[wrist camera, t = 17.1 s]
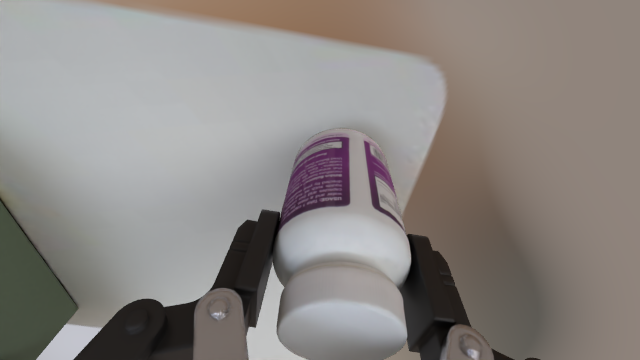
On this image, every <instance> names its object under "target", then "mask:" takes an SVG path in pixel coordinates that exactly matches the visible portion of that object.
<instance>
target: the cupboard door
mask: <svg viewBox="0 0 640 360" xmlns="http://www.w3.org/2000/svg"><path fill="white" fill-rule="evenodd" d="M77 310H78V308H77V306H76V305H75V303H74V302H73V301H72V299H71V298H70V296H69V295H68V294H67V292H66V291H65V290H64V288H63V287H62V285H61V284H60V283H59V281H58V280H57V279H56V277H55V276H54V274H53V273H52V272H51V270H50V269H49V267H48V266H47V265H46V263H45V262H44V261H43V259H42V258H41V256H40V255H39V254H38V252H37V251H36V250H35V248H34V247H33V245H32V244H31V243H30V241H29V240H28V238H27V237H26V236H25V234H24V233H23V232H22V230H21V229H20V227H19V226H18V225H17V223H16V222H15V221H14V219H13V218H12V216H11V215H10V214H9V212H8V211H7V209H6V208H5V207H4V205H3V204H2V203H1V201H0V360H36V359H37V357H38V356H39V355H40V354H41V353H42V352H43V350H44V349H45V348H46V347H47V346H48V344H49V343H50V342H51V341H52V340H53V338H54V337H55V336H56V335H57V333H58V332H59V331H60V330H61V329H62V328H63V326H64V325H65V324H66V323H67V322H68V320H69V319H70V318H71V317H72V316H73V314H74V313H75V312H76V311H77Z"/></svg>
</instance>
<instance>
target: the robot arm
mask: <svg viewBox="0 0 640 360" xmlns="http://www.w3.org/2000/svg"><path fill="white" fill-rule="evenodd" d="M279 220H280V212H275V211H269V210H262V211H261V214H260V216H259V219H258V222H257V221H251V220H246V221H245V222H244V223H243V224H242V225H241V226H240V227H239V228H238V230H237V232H236V234H235V236H234V239H233V241H232V243H231V246H230V249H229V250H228V253H227V255H226V257H225V260H224V262H223V264H222V266H221V269H220V271H219V273H218V276H217V278H216V280H215V283H214V285H213V286H212V288H211V289H210V290H209V291H208V293H206V294H205V295H204V296H203V297H201V298H200V299H198V300H196V301H193V302H190V303H186V304H180V305H174V306H168V307H163V305H162V304H161V303H160V302H158V301H156V300H154V299H141V300H137V301H134V302H132V303H129V304H128V305H126V306H124V307H123V308H122V309H121V310H119V311H118V312H117V313H116V314H115V315H114V316H113V318H112V319H111V320H110V321H109V322H108V323H107V324H106V325H105V326H104V327H103V328H102V329H101V331H100V332H99V333H98V334H97V335H96V336H95V337H94V338H93V339H92V340H91V341H90V342H89V343H88V345H87V346H86V347H85V348H84V349H83V350H82V351H81V352H80V353H79V354H78V356H76V357H75V359H74V360H249V359H248V350H247V341H246V335H247V332H248V328H249V327H255V328H256V324H257V320H258V317H259V313H260V309H261V305H262V301H263V297H264V293H265V289H266V285H267V281H268V277H269V274H270V270H271V266H272V262H273V257H272V255H273V244H274V240H275V236H276V232H277V228H278V224H279ZM407 238H408V241H409V245H410V252H411V267H410V271H409V274H408V277H407V279H406V281H405V283H404V284H403V286H402V287H401V288H400V289H399V291H400V293H401V295H402V298H403V306H404V314H405V321H406V328H407V342H408V348H409V351H412V352H418V353H420V357H421V360H514V359H512V358H509V357H507V356H505V355H503V354H501V353H499V352H497V351H495V350H493V349H492V348H491V347H490V345H489V344H488V342H487V341H486V340H485V338H484V337H483V336H482V335H481V334H480V333H479V332H477V331H476V330H475V329H473V328H472V327H471V325H470V323H469V320H468V317H467V314H466V312H465V309H464V307H463V304H462V301H461V298H460V296H459V293H458V291H457V288H456V287H455V282H454V280H453V277H451V272H450V269H449V266H448V264H447V262H446V261H445V259H444V258H443V257H442V255H441V254H440V253H439V252H438V251H433V250H432V247H431V244H430V241H429V239H428V238H427V237H425V236H419V235H413V234H408V235H407ZM525 360H540V359H537V358H527V359H525Z"/></svg>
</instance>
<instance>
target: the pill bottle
mask: <svg viewBox="0 0 640 360" xmlns="http://www.w3.org/2000/svg"><path fill="white" fill-rule="evenodd" d="M272 257H273V265H274V269H275V272H276V274H277V277H278V279H279V281H280V282H281V284H282V285H283V286H284V287H285V288H284V289H283V292H282V294H281V299H280V306H279V313H278V321H277V335H278V338H279V340H280V341H281V343H282V344H283V345H284V346H285V347H286V348H287V349H288V350H290V351H291V352H293V353H294V354H296V355H298V356H301V357H303V358H306V359H309V360H384V359H386V358H388V357H390V356H392V355H394V354H396V353H397V352H398V351H399V350H401V349H402V348H403V346H404V345H405V343H406V340H407V328H406V321H405V314H404V306H403V298H402V295H401V293H400V291H399V289H400V288H401V287H402V286H403V284H404V283H405V281H406V279H407V277H408V274H409V271H410V267H411V252H410V245H409V241H408V238H407V235H406V231H405V227H404V224H403V220H402V216H401V212H400V208H399V205H398V201H397V197H396V194H395V190H394V186H393V183H392V179H391V175H390V172H389V168H388V164H387V160H386V158H385V155H384V153H383V151H382V150H381V148H380V146H379V145H378V144H377V143H376V142H375V141H373V140H372V139H371V138H370V137H368V136H367V135H365V134H364V133H362V132H358V131H355V130H352V129H346V128H339V129H330V130H325V131H322V132H320V133H318V134H316V135H315V136H313V137H312V138H310V139H309V140H308V141H306V142H305V143H304V145H303V146H302V147H301V148H300V150H299V152H298V154H297V156H296V159H295V162H294V166H293V170H292V173H291V177H290V181H289V185H288V189H287V193H286V197H285V200H284V204H283V208H282V212H281V217H280V221H279V224H278V228H277V232H276V236H275V240H274V244H273V255H272Z"/></svg>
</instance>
